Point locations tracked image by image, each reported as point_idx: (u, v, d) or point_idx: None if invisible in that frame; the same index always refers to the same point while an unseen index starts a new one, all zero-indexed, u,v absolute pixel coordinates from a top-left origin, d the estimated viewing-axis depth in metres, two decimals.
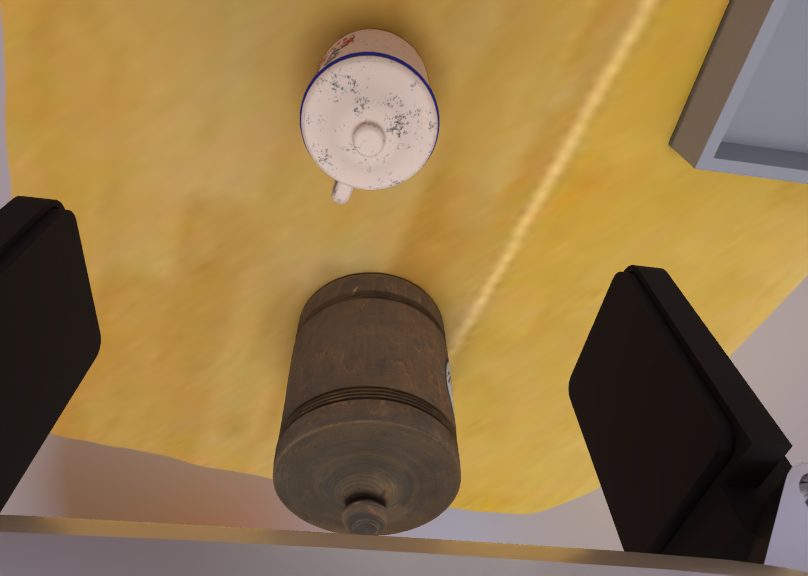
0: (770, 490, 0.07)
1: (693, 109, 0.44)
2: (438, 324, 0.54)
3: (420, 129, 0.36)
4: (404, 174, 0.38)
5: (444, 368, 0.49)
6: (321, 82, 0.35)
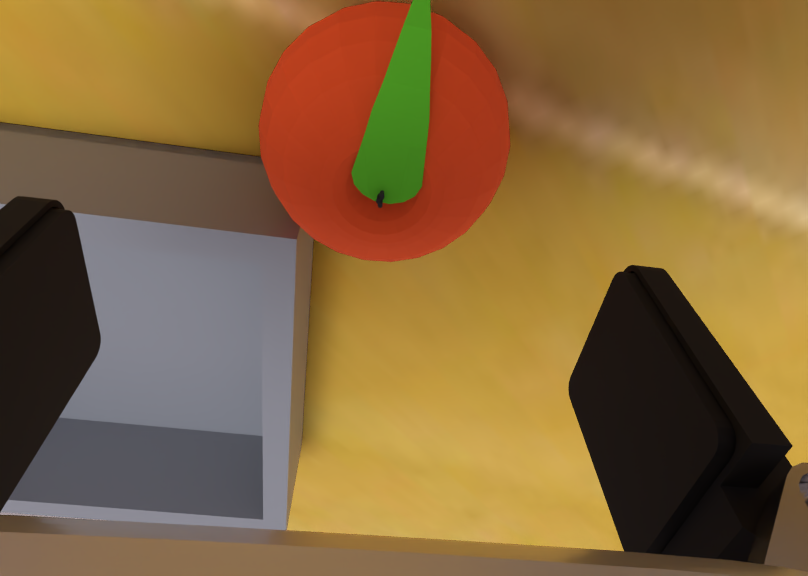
0: (770, 490, 0.07)
1: None
2: None
3: None
4: None
5: None
6: None
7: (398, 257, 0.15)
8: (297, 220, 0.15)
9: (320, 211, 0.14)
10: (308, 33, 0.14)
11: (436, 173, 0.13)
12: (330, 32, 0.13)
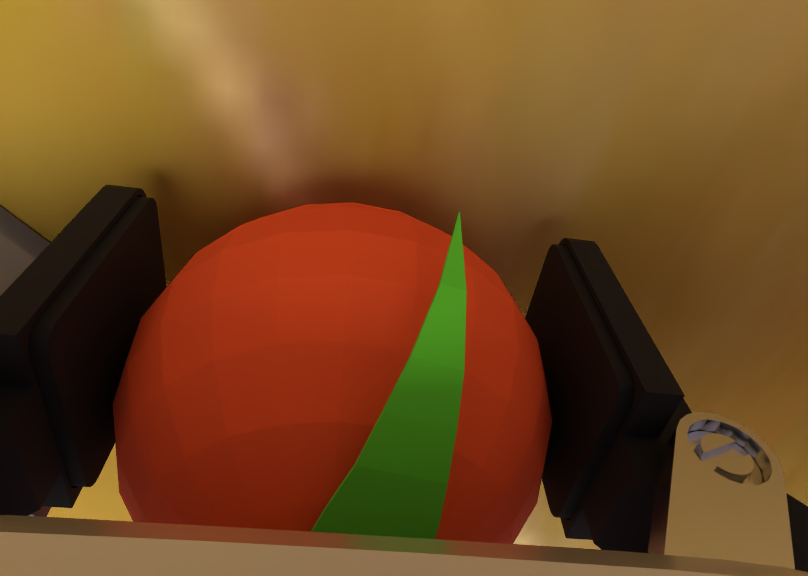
0: None
1: None
2: None
3: None
4: None
5: None
6: None
7: None
8: None
9: None
10: (218, 274, 0.07)
11: None
12: (259, 296, 0.07)
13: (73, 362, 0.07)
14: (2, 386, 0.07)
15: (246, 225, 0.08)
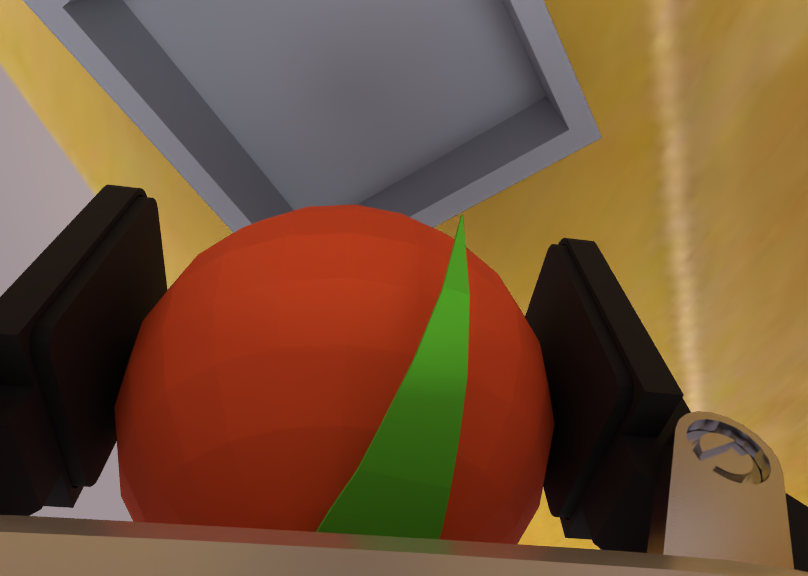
0: None
1: None
2: None
3: None
4: None
5: None
6: None
7: None
8: None
9: None
10: (220, 277, 0.07)
11: None
12: (261, 298, 0.07)
13: (74, 362, 0.07)
14: (3, 386, 0.07)
15: (248, 227, 0.08)
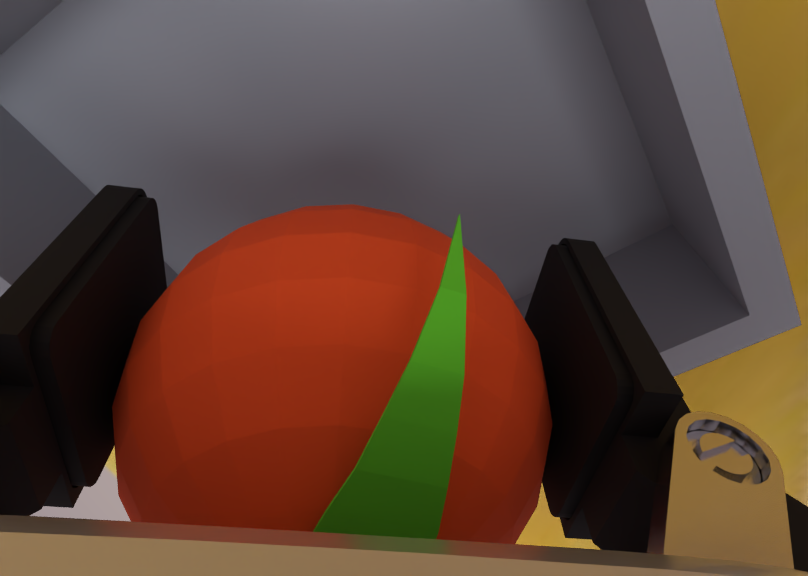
0: None
1: None
2: None
3: None
4: None
5: None
6: None
7: None
8: None
9: None
10: (218, 277, 0.07)
11: None
12: (259, 298, 0.07)
13: (74, 362, 0.07)
14: (3, 386, 0.07)
15: (246, 227, 0.08)
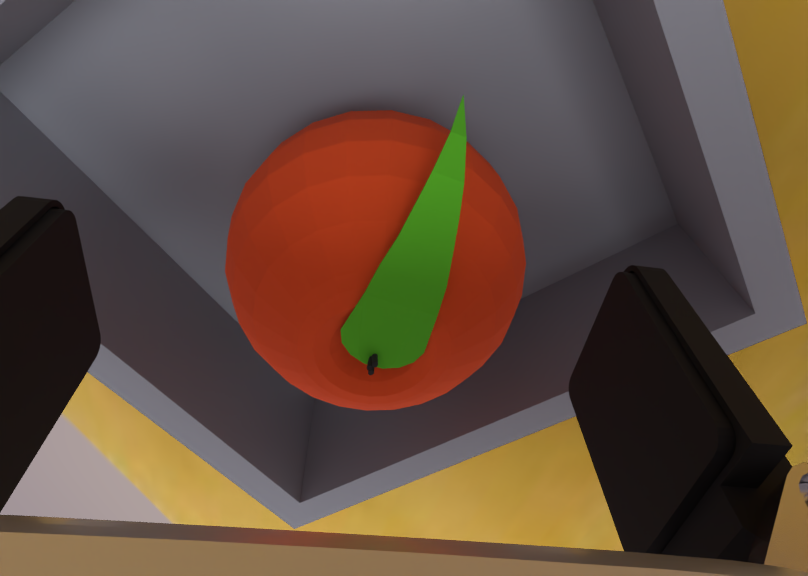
0: (770, 490, 0.07)
1: None
2: None
3: None
4: None
5: None
6: None
7: (378, 409, 0.13)
8: (261, 355, 0.12)
9: (293, 361, 0.11)
10: (305, 143, 0.11)
11: (444, 341, 0.11)
12: (334, 151, 0.11)
13: None
14: None
15: (318, 121, 0.12)
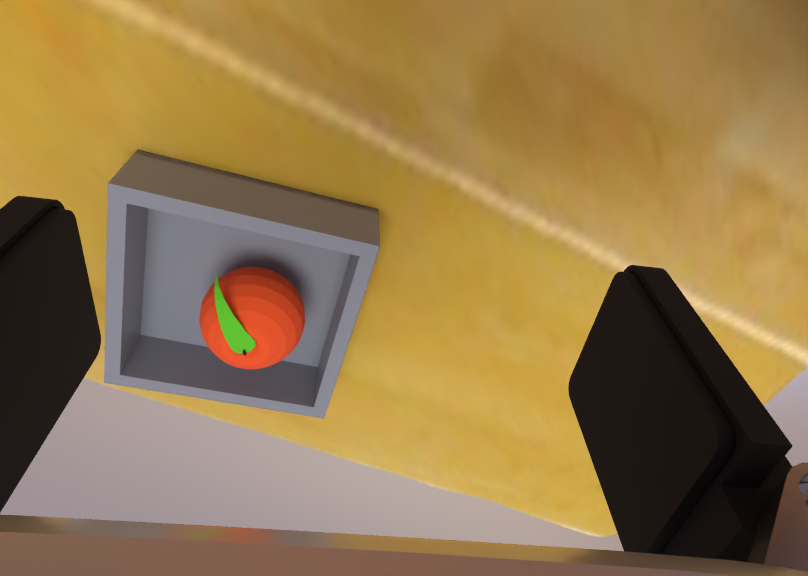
0: (770, 490, 0.07)
1: (188, 172, 0.35)
2: None
3: None
4: None
5: None
6: None
7: (275, 361, 0.37)
8: None
9: (233, 363, 0.37)
10: (201, 306, 0.37)
11: (256, 335, 0.35)
12: (204, 305, 0.36)
13: None
14: None
15: None
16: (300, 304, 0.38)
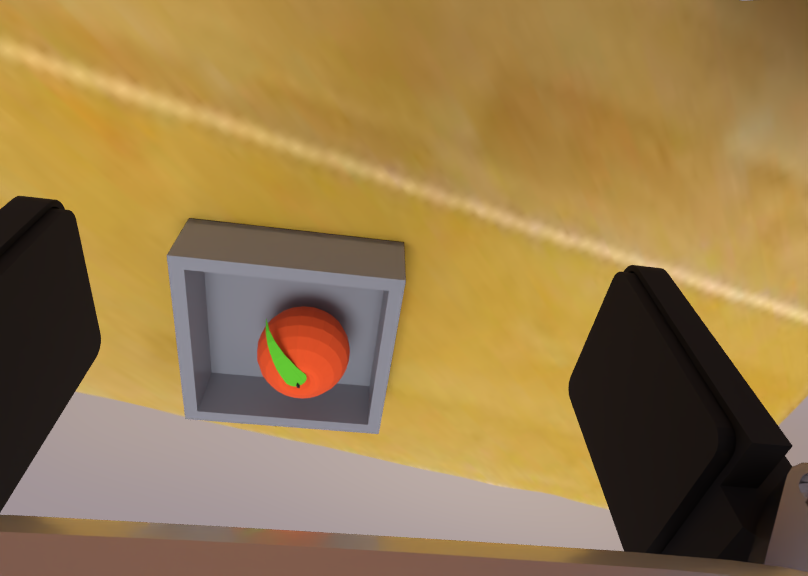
0: (770, 490, 0.07)
1: (232, 233, 0.40)
2: None
3: None
4: None
5: None
6: None
7: (326, 389, 0.42)
8: None
9: (290, 395, 0.41)
10: None
11: (306, 369, 0.40)
12: (260, 346, 0.41)
13: None
14: None
15: None
16: (343, 336, 0.42)
